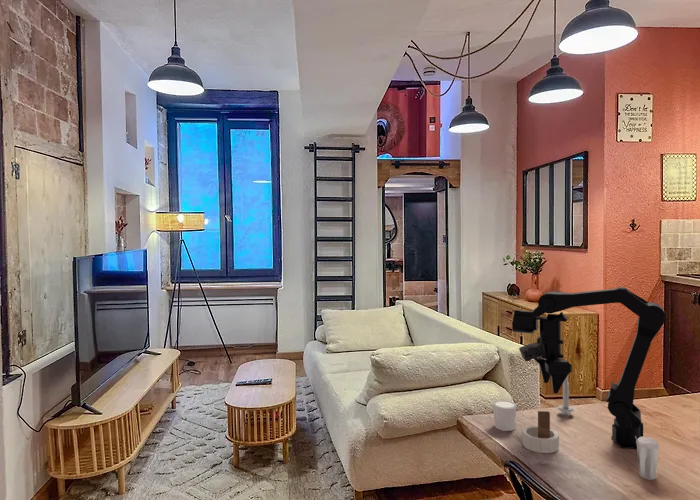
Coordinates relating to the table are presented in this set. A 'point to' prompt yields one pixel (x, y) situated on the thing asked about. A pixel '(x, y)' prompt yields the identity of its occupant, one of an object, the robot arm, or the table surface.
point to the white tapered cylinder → (504, 415)
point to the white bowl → (539, 440)
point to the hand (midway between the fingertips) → (550, 387)
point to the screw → (565, 400)
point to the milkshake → (647, 457)
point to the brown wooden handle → (543, 424)
